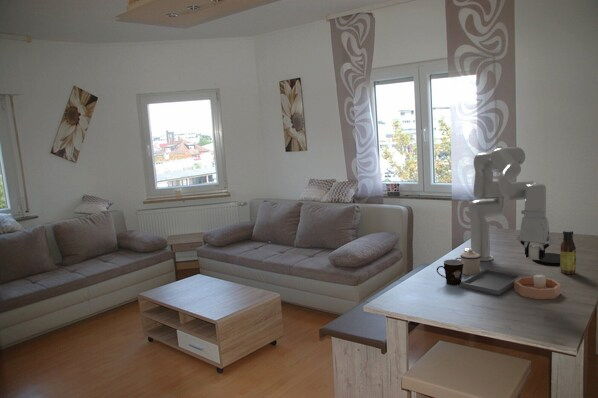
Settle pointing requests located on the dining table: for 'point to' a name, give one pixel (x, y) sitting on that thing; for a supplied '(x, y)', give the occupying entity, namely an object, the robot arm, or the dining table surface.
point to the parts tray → (490, 282)
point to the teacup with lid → (470, 262)
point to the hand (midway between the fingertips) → (534, 257)
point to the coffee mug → (452, 271)
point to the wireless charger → (549, 259)
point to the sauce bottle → (568, 253)
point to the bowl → (527, 289)
